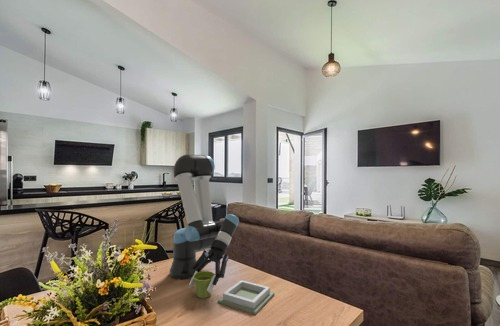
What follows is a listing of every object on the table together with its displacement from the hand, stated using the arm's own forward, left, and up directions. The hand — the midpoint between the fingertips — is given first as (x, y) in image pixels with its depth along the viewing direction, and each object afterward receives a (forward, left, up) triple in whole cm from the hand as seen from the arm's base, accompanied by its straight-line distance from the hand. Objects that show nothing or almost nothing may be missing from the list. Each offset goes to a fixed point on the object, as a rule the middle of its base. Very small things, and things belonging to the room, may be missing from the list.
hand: (199, 289), depth 112 cm
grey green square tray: (+18, +10, -4) cm, 21 cm away
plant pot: (0, +3, -4) cm, 5 cm away
